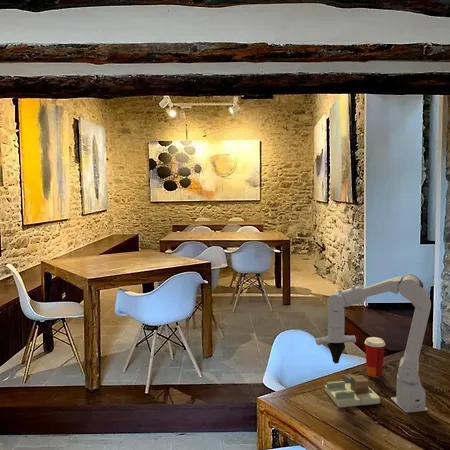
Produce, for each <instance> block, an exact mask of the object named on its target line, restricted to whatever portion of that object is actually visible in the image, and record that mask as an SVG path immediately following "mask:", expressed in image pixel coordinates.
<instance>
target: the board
mask: <svg viewBox="0 0 450 450" xmlns="http://www.w3.org/2000/svg"><path fill="white" fill-rule="evenodd" d="M350 384H351V383H346V384H345V381H343V380H339V381H337V380H336V381H328V382H326V385H324V392H325V393H326V394H327V395H328V397H329V398H330V399H331V400H332V402H334V404H335V405H336V406H337V408H349V407H356V406H357V407H358V406H368V405H376V404H377V405H378V404H380V403H381V397H380V396H379V395H378V394H377V393H376V392H375V391H374V390H373V389H371V388H370V387H369V386H368V393H365V394H355V392H354V391H353V390H352V389H351V388H350Z"/></svg>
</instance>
